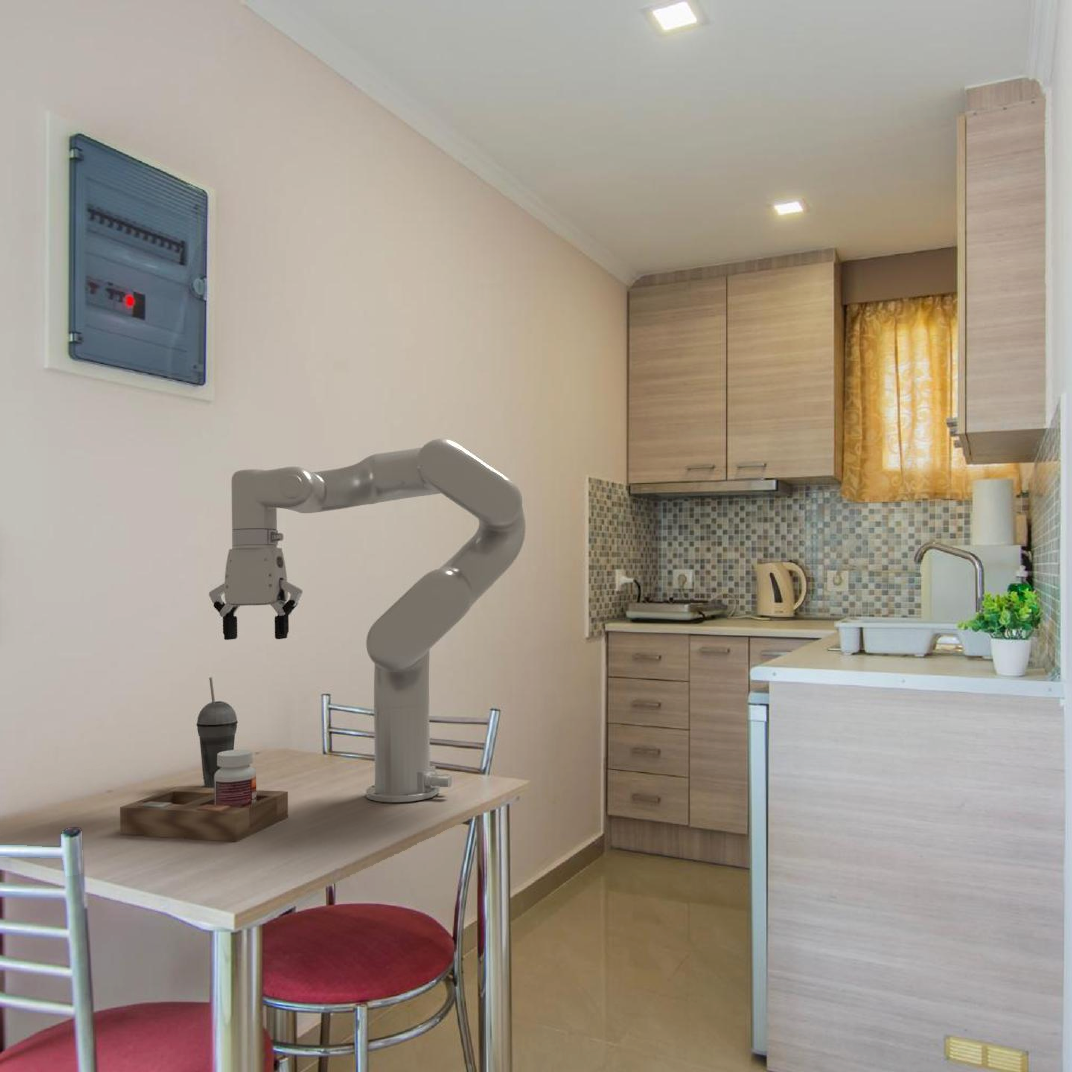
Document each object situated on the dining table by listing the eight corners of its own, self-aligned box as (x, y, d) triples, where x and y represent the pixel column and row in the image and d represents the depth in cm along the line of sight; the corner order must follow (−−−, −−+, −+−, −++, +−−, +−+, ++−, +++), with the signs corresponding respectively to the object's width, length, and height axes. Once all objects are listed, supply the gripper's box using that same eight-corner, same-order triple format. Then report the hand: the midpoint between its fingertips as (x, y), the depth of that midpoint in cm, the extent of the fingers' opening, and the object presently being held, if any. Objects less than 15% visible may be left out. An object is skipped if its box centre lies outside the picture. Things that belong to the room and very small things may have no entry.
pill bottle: (261, 828, 140) (261, 752, 141) (220, 834, 137) (220, 757, 138) (249, 819, 145) (249, 747, 146) (209, 826, 142) (209, 751, 143)
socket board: (288, 817, 147) (287, 789, 147) (236, 841, 133) (236, 811, 133) (179, 811, 152) (179, 784, 152) (120, 834, 138) (120, 805, 139)
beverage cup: (230, 790, 166) (229, 679, 167) (190, 791, 167) (189, 679, 168) (243, 781, 174) (243, 674, 175) (205, 782, 174) (204, 675, 175)
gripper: (310, 539, 163) (311, 637, 162) (222, 543, 167) (223, 638, 166) (289, 538, 156) (290, 640, 155) (198, 541, 160) (198, 641, 159)
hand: (255, 639), depth 160 cm, fingers open, 9 cm apart
